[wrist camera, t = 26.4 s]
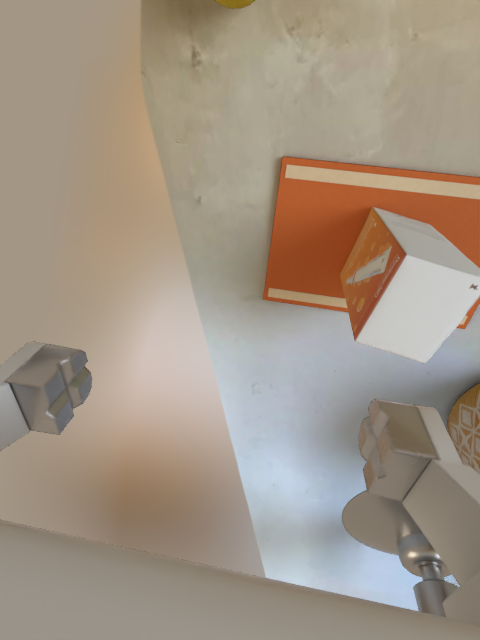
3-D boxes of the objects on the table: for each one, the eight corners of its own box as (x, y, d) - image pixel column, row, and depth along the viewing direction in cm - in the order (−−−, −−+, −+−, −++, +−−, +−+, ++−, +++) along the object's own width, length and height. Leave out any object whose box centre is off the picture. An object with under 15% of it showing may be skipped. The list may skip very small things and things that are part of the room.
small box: (371, 205, 32) (407, 251, 21) (431, 223, 32) (497, 279, 21) (337, 275, 37) (353, 343, 26) (390, 291, 37) (428, 366, 26)
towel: (263, 297, 40) (263, 300, 40) (282, 156, 32) (282, 157, 31) (462, 326, 38) (465, 329, 38) (542, 183, 30) (547, 185, 29)
